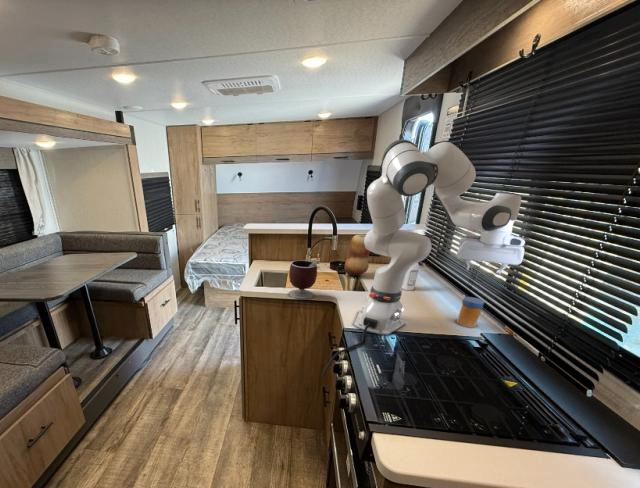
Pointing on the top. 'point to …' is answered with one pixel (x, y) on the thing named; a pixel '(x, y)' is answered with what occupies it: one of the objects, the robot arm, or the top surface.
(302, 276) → the mate gourd
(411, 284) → the bath foam
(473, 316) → the jam jar
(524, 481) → the top surface
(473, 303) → the jam lid
